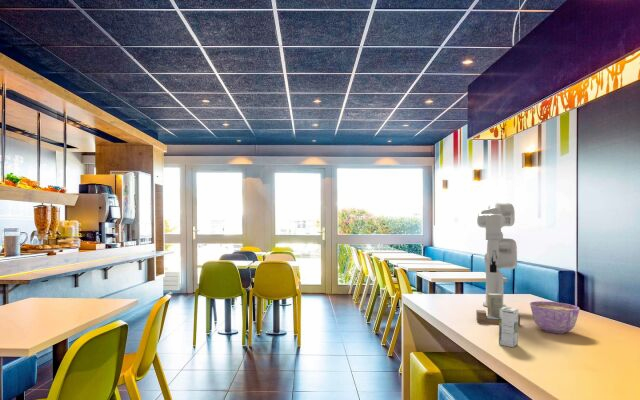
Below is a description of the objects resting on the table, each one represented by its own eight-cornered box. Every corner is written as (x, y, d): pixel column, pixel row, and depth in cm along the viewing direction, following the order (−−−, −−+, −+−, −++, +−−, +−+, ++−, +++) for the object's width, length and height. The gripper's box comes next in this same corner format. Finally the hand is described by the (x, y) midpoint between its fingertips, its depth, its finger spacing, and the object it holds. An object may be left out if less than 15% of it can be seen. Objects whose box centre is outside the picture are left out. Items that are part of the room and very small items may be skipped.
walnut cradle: (476, 319, 216) (476, 309, 217) (517, 323, 212) (517, 312, 212) (477, 322, 211) (477, 312, 211) (519, 325, 206) (520, 315, 206)
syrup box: (503, 341, 178) (503, 306, 178) (518, 344, 174) (518, 308, 175) (498, 344, 173) (498, 308, 174) (514, 347, 170) (514, 310, 170)
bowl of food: (587, 338, 186) (587, 311, 186) (536, 335, 190) (536, 308, 190) (570, 327, 205) (570, 302, 206) (524, 324, 209) (524, 300, 210)
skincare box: (499, 317, 224) (499, 293, 224) (502, 319, 219) (502, 294, 220) (486, 316, 224) (487, 292, 225) (489, 318, 220) (489, 294, 220)
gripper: (484, 236, 238) (484, 270, 237) (487, 237, 224) (487, 273, 223) (498, 237, 236) (498, 271, 235) (503, 238, 222) (502, 274, 221)
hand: (493, 272), depth 229 cm, fingers closed
